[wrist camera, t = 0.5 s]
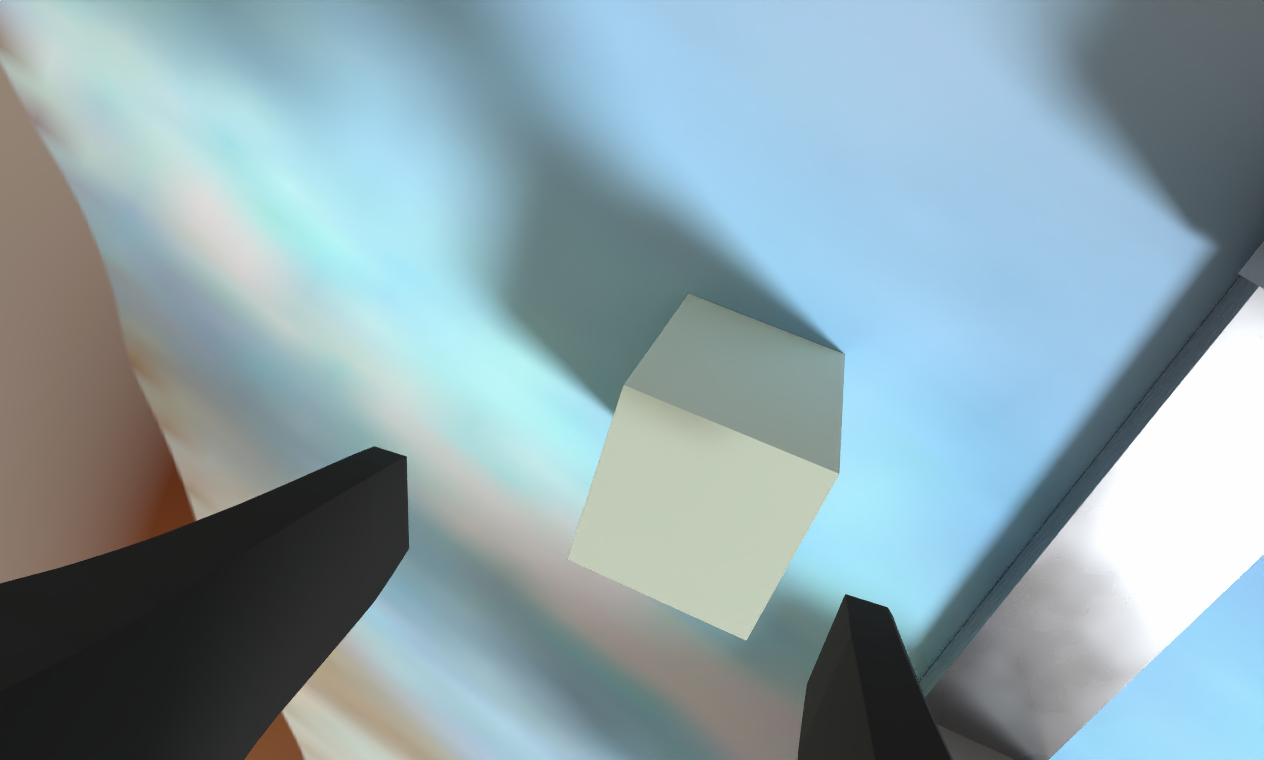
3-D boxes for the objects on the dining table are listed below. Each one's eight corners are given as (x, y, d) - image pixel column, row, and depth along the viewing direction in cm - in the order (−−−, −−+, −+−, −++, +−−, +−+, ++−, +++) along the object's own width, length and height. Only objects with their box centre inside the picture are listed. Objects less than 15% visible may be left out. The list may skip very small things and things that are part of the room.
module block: (774, 493, 21) (746, 640, 15) (635, 434, 21) (563, 557, 16) (844, 353, 18) (839, 473, 13) (685, 292, 19) (618, 383, 13)
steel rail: (961, 817, 24) (964, 839, 23) (852, 765, 24) (852, 786, 24) (1654, 127, 12) (1703, 131, 11) (1414, 55, 12) (1447, 56, 12)
